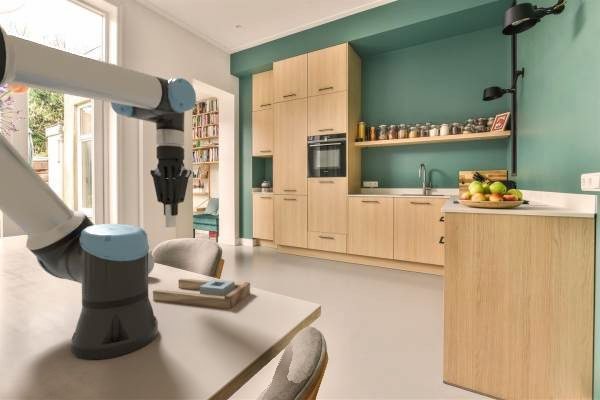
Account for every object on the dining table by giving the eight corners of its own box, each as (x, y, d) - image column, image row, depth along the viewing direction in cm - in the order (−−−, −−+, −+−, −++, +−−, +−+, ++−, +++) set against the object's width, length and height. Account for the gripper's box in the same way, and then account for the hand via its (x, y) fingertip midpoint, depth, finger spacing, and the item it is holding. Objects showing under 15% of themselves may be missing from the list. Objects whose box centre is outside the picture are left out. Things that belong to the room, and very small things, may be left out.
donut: (156, 275, 108) (156, 248, 107) (150, 278, 104) (150, 250, 104) (130, 275, 109) (130, 247, 108) (124, 277, 105) (123, 249, 105)
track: (229, 308, 78) (229, 296, 78) (153, 299, 84) (152, 288, 84) (250, 293, 90) (250, 282, 90) (181, 286, 96) (181, 276, 96)
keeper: (222, 303, 82) (222, 288, 82) (200, 300, 84) (199, 286, 84) (234, 294, 89) (234, 281, 89) (213, 292, 90) (213, 279, 90)
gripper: (197, 147, 89) (197, 226, 90) (161, 149, 93) (162, 224, 94) (180, 143, 82) (180, 229, 83) (142, 145, 86) (143, 227, 87)
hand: (170, 226), depth 88 cm, fingers closed
